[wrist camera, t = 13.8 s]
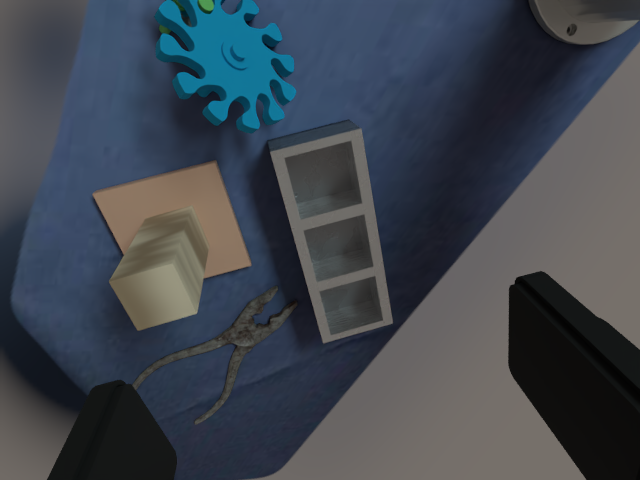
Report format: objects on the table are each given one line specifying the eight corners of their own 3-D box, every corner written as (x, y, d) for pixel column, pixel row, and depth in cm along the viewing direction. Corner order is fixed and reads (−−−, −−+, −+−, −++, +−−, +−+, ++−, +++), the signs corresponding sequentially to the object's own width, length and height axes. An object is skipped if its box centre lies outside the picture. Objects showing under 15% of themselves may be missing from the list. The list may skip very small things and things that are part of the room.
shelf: (348, 119, 33) (361, 128, 29) (380, 299, 42) (393, 323, 38) (267, 140, 33) (270, 151, 29) (316, 317, 41) (323, 343, 38)
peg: (192, 205, 33) (172, 263, 24) (209, 245, 35) (197, 313, 26) (145, 218, 33) (108, 281, 24) (165, 258, 35) (137, 330, 26)
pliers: (121, 403, 42) (213, 258, 36) (123, 397, 42) (214, 254, 37) (205, 429, 45) (301, 300, 40) (206, 422, 46) (301, 296, 40)
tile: (216, 159, 33) (215, 162, 32) (251, 261, 37) (251, 265, 37) (95, 190, 32) (92, 194, 31) (146, 289, 37) (144, 294, 36)
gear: (323, 86, 30) (239, 153, 24) (279, 117, 34) (199, 179, 29) (230, -60, 26) (106, -22, 21) (194, -5, 31) (84, 39, 25)
